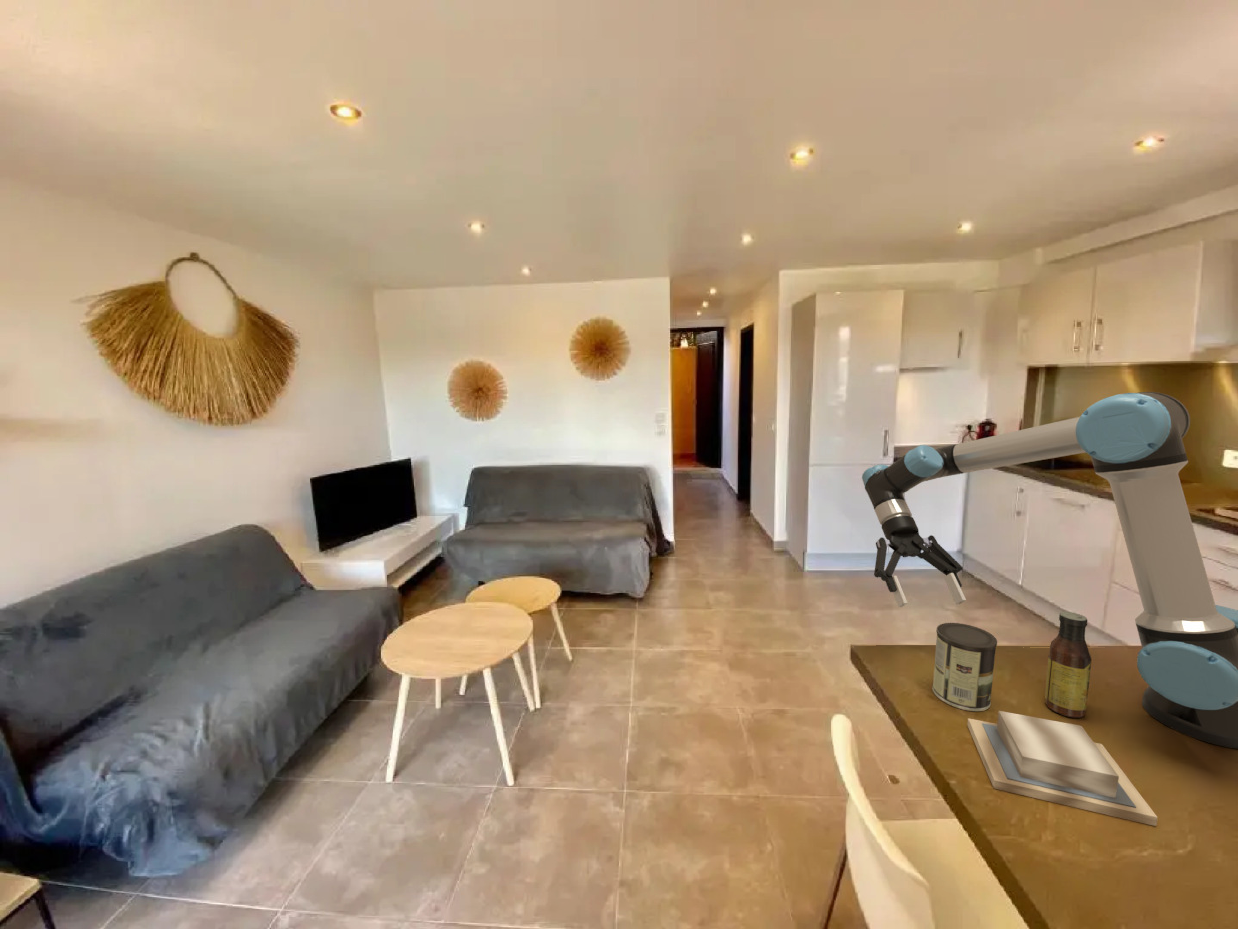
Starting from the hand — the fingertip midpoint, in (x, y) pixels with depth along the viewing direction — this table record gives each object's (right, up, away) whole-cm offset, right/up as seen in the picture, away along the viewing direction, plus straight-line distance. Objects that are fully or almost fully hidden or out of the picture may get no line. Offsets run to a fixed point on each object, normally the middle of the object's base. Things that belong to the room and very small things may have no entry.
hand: (932, 603), depth 112 cm
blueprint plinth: (+3, -21, -27) cm, 34 cm away
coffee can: (+1, -18, -8) cm, 19 cm away
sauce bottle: (+19, -18, -12) cm, 29 cm away
